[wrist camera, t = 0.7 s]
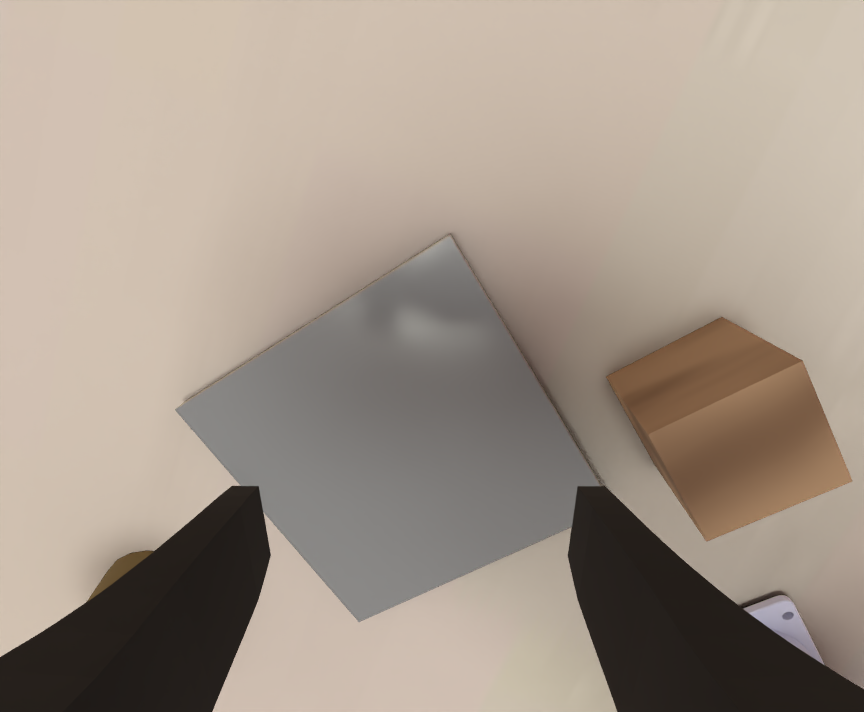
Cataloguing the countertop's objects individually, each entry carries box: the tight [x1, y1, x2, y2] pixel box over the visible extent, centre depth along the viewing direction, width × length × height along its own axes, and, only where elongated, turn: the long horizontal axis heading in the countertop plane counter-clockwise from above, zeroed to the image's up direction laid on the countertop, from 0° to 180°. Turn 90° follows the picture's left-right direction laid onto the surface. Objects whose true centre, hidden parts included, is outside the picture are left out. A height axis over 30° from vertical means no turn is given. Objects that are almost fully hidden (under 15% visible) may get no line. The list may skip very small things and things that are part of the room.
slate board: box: [175, 234, 601, 622], centre depth 22 cm, size 14×14×1 cm
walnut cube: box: [606, 317, 852, 541], centre depth 19 cm, size 5×5×5 cm
